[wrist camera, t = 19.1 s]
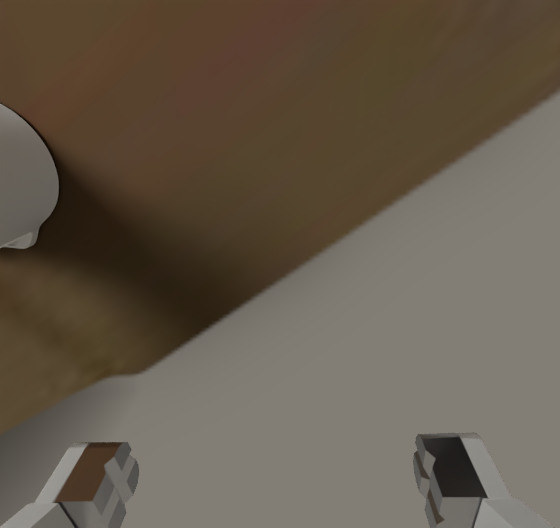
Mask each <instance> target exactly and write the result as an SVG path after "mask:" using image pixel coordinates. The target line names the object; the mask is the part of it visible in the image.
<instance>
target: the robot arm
mask: <svg viewBox="0 0 560 528" xmlns="http://www.w3.org/2000/svg"><path fill="white" fill-rule="evenodd" d="M58 194H59V181H58V175H57V171H56V167H55V164H54V162H53V159H52V157H51V155H50V153H49V151H48V149H47V147H46V146H45V144H44V143H43V141H42V140H41V138H40V137H39V136H38V134H37V133H36V132H35V131H34V130H33V129H32V128H31V127H30V126H29V124H28V123H26V122H25V121H24V120H23V119H22V118H21V117H20V116H18V115H17V114H16V113H14V112H13V111H12V110H10V109H8V108H7V107H5V106H3V105H2V104H0V248H2V247H10V248H19V249H26V248H28V247H31V246H33V245H34V244H35V242H36V240H37V237H38V232H39V227H40V226H41V224H42V223H43V222H44V221H45V220H46V219H47V218H48V217H49V216H50V215H51V213H52V212H53V210H54V208H55V206H56V203H57V200H58ZM415 443H416V446H417V449H418V451H416V452H415V453H414V460H413V464H414V473H415V477H416V482H417V486H418V489H419V492H420V493H421V494H422V495H423V496H424V497H425V498H426V499H427V500H426V506H425V512H426V515H427V519H428V522H429V525H430V528H554V527H553V526H552V525H550V524H549V523H548V522H547V521H546V520H544V519H543V518H542V517H541V516H539V515H538V514H537V513H536V512H535V511H534V510H533V509H531V508H530V507H529V506H528V505H527V504H525V503H524V502H523V501H522V500H521V499H519V498H512V496H511V494H510V492H509V490H508V488H507V486H506V484H505V483H504V481H503V479H502V477H501V475H500V473H499V471H498V469H497V468H496V466H495V464H494V462H493V460H492V458H491V456H490V454H489V452H488V450H487V449H486V447H485V445H484V443H483V441H482V439H481V437H480V436H479V435H478V434H477V433H458V434H455V433H440V434H418V435H417V437H416V442H415ZM130 452H131V448H130V446H129V444H128V442H107V443H106V442H102V443H101V442H99V443H98V442H97V443H94V442H91V443H90V442H88V443H87V442H86V443H74V444H73V445H72V446H70V447H69V448H68V450H67V452H66V453H65V455H64V456H63V458H62V459H61V461H60V463H59V464H58V466H57V467H56V469H55V471H54V472H53V474H52V476H51V477H50V479H49V480H48V482H47V483H46V485H45V487H44V488H43V490H42V491H41V493H40V495H39V496H38V498H37V499H36V501H35V502H34V503H29V504H27V505H26V506H25V507H24V508H23V509H22V510H20V511H19V512H18V513H17V514H15V515H14V516H13V517H12V518H11V519H9V520H8V521H7V522H6V523H4V524H3V525H2V526H1V527H0V528H120V527H121V524H122V522H123V519H124V517H125V514H126V509H125V502H127V501H128V500H129V499H130V498H131V497H132V496H133V494H134V491H135V489H136V486H137V483H138V476H139V467H138V463H137V461H136V459H135V458H133V457H132V456H130V455H129V454H130Z"/></svg>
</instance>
